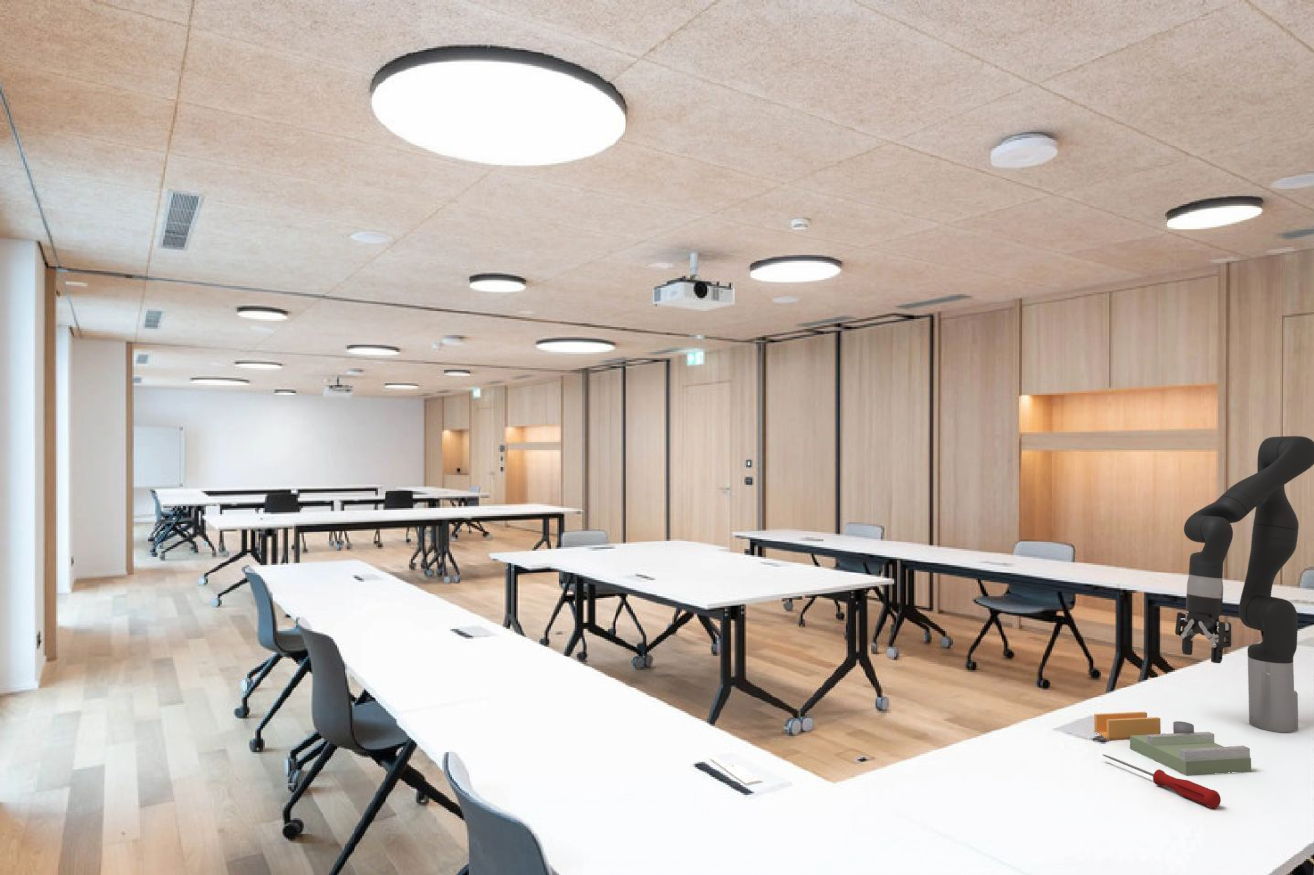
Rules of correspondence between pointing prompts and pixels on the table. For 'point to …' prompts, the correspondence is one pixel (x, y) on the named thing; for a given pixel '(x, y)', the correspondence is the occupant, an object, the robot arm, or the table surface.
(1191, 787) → the screwdriver
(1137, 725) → the discharge chute
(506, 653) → the table surface
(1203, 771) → the marble run board
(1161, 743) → the chute cradle
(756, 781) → the white flat rectangular slab
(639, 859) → the table surface
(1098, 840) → the table surface
